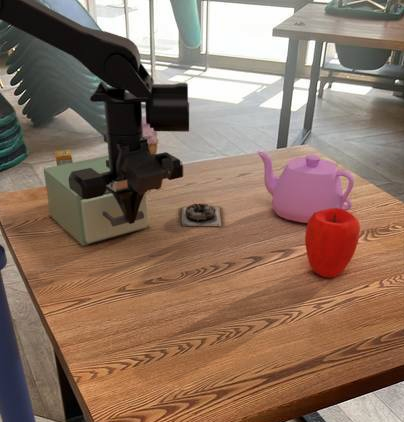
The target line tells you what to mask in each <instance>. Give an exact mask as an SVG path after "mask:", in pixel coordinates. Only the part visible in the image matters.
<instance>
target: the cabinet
mask: <svg viewBox="0 0 404 422" xmlns="http://www.w3.org/2000/svg"><path fill="white" fill-rule="evenodd" d="M106 160H109V155H103V156H98V157H94V158H88V159H84V160H79V161H75V162H74V161H73V163H69V164H64V165H59V166H57V165H55V166H50V167H45V168H43V170H42V171H43V175H44V183H45V188H46V194H47V195H46V196H47V201H48V208H49V214H50V217H51V218H52V219H53V220H54V221H55V222H56V223H57V224H58V225H59V226H61V227H62V228H63V229H64V231H66V232H67V233H68V234H69V235H70V236H71V237H72V238H73V239H75V240H76V241H77V243H79V244H80V245H81V246H82V247H84V246H87V245H91V244H95V243H98V242H101V241H105V240H109V239H113V238H116V237H120V236H124V235H126V234H131V233H134V232H138V231H141V230H145V229H148V226H147V227H144V228H141V229H137V230H134V231H130V232H126V233H123V234H119V235H115V236H112V237H108V238H105V239H101V240H97V241H94V242H90V243H87V242H86V241H85V234H84V226H83V218H82V209H81V201H80V200H81V199H83V198H81V197H80V196H79V195H78V194H76V193H75V192H74V191H72V190H71V189H70V187H69V179H68V178H69V176H70V174H71V172H72V171H77V170H82V169H87V168H92V169H93V170H95V171H96V172H98V173H99V174H100V173H105V172H109V171H110V169H109V168H108V167H106ZM108 192H109V191H108V190H106V192H105V193H108Z"/></svg>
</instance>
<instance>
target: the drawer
mask: <svg viewBox="0 0 404 422" xmlns="http://www.w3.org/2000/svg"><path fill="white" fill-rule="evenodd" d="M80 201H81V209H82V218H83V226H84V234H85V241H86V242H87V243H90V242H94V241H97V240H101V239H105V238H108V237H112V236H115V235H119V234H123V233H126V232H130V231H134V230H137V229H141V228H144V227H147V228H148V213H147V209H148V208H147V192H146V193H145V194H144V196H143V198H142V201H141V203H140V207H139V210H138V213H137V216H136V219H135V222H134V223H133V224H129V223H128V222H127V220H126V218H125V216H124V214H123V212H122V210H121V208H120V206H119V204H118V202H117V200H116V199H115V197H114V196H113V194H112V193H108V194H104V195H103V196H100V197H96V198H91V199H81V200H80ZM134 232H135V231H134ZM105 240H106V239H105Z"/></svg>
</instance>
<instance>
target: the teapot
mask: <svg viewBox="0 0 404 422" xmlns="http://www.w3.org/2000/svg"><path fill="white" fill-rule="evenodd" d="M256 153H257V155H258V156H259V157H260V158H261V160H262V163H263V167H264V172H263V173H264V175H263V176H264V177H263V178H264V186H265V189H266V190H267V192H268V193H269V194H270V196H272V198H271V205H272V208H273V210H274V212H275V214H277V216H278V217H281V218H283V219H285V220H287V221H293V222H297V223H298V222H299V223H303V224H304V223H305V224H308V220H309V219H310V217H311V216H312V215H313V213H314V212H318V211H321V210H325V209H331V208H339V209H342V210H346V211H349V210H351V208H352V206H353V203H352V202H353V201H352V200H351V199H350V198H348V196H350V194H351V192H352V190H353V188H354V184H355V179H354V176H353V175H352V174H351V173H350V172H349V171H347V170H339V169H338V165H337V164H336V163H335V162H333V161H331V160H327V159H322V157H321V156H320V155H318V154H306V155H305V156H304V157H300V156H299V157H293V158H291V159H290V160H289V161H288V162H287V164H286V165H285V167H284V168H283V170H282V172H281V174H280V175H279V177H278V178H277V176H276V175H275V174H274V170H273V169H274V168H273V161H272V158H271V157H270V156H269V154H267V153H264V152H262V151H259V150H257V151H256ZM341 177H344V178H346V179H347V180H348V185H347V188H346V190H345V191H344V193H343V185H342V180H341ZM345 203H347V205H346V204H345Z"/></svg>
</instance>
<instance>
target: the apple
mask: <svg viewBox="0 0 404 422" xmlns="http://www.w3.org/2000/svg"><path fill="white" fill-rule="evenodd" d="M306 224H307V225H306V229H305V235H304V244H305V250H306V256H307V259H308V263H309V266H310V268H311V270H312V271H313V272H314V273H315V274H317V275H318V276H321V277H323V278H328V279H329V278H335V277H338V276H339V275H341V274H342V272H343V271H344V270H345V269H346V268H347V267H348V265H349V263H351V260H352V258H353V257H354V255H355V253H356V249H357V247H358V244H359V241H360V239H359V238H360V232H361V225H360V221H359V219H358V218H357V217H356V216H355V215H353V214H352V213H351V212H350V211H349V210H342V209H339V208H331V209H325V210H321V211H318V212H314V213H313V215H312V216H311V217H310V219H309V220H308V223H306Z"/></svg>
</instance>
